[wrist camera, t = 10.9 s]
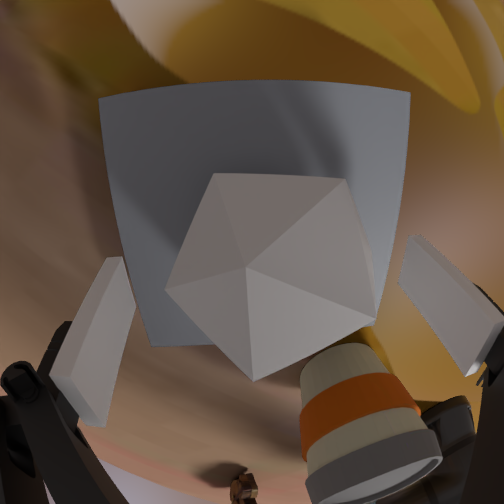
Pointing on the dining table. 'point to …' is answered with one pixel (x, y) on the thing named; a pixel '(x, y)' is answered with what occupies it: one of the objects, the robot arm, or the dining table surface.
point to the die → (275, 268)
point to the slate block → (243, 167)
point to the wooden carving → (244, 490)
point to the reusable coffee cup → (360, 429)
